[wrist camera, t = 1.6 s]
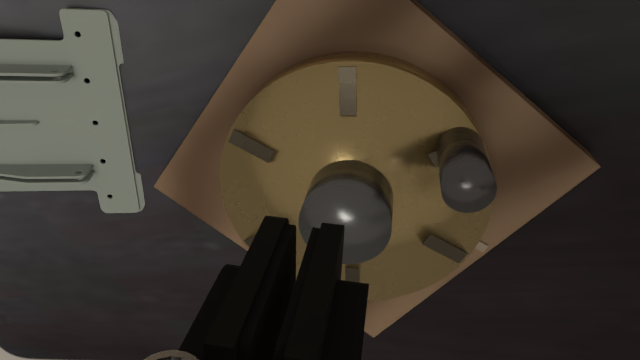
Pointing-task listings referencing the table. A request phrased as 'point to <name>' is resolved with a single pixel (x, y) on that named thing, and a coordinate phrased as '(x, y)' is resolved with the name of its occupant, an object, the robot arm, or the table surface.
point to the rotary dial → (363, 168)
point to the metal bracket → (68, 113)
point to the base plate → (415, 48)
